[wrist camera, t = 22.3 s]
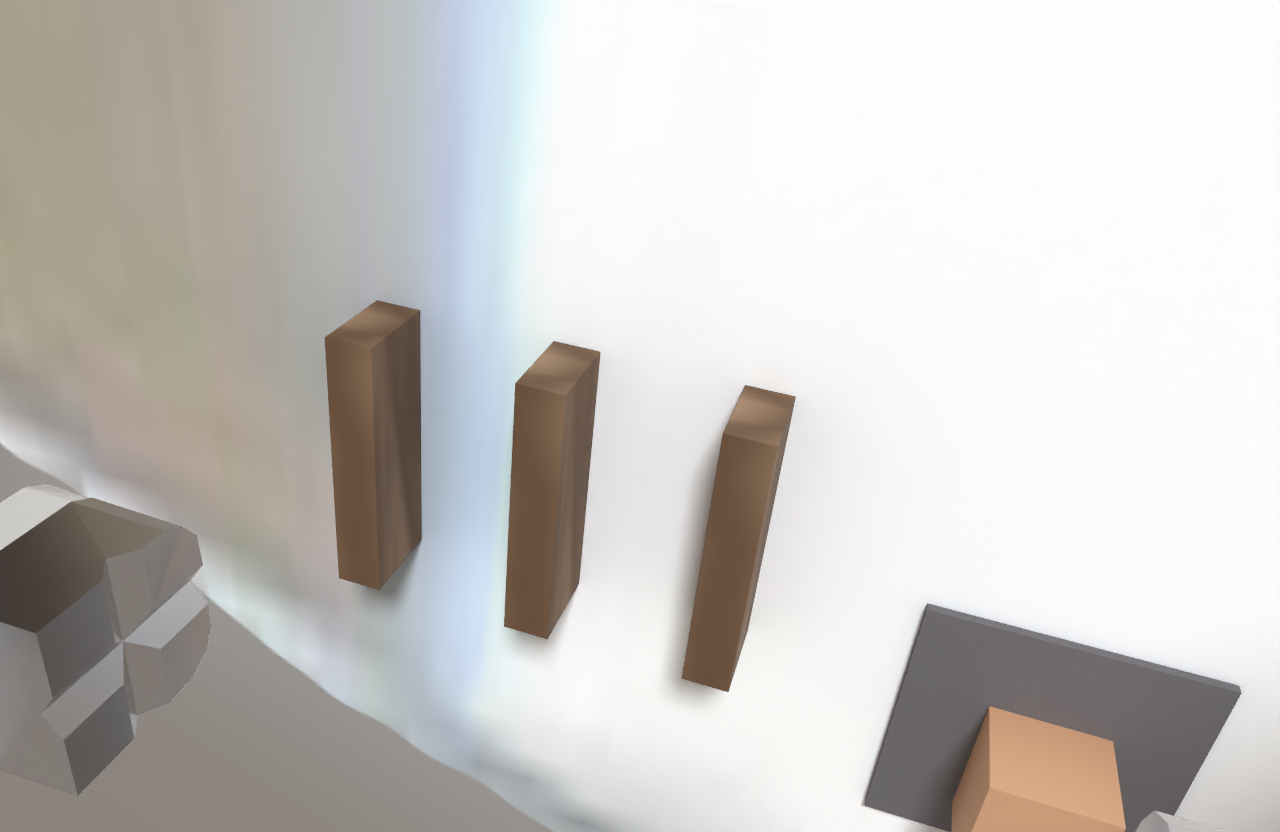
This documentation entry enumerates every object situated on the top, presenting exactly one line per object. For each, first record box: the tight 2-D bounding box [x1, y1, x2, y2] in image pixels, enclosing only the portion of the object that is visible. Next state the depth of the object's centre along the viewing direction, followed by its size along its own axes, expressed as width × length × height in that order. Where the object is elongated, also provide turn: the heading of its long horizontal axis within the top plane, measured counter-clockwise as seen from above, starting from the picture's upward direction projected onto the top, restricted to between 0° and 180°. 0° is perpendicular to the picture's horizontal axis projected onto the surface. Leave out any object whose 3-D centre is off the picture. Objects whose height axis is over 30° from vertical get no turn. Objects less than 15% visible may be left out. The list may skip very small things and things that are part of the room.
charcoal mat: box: [865, 604, 1241, 832], centre depth 43 cm, size 12×12×1 cm
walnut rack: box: [325, 301, 795, 692], centre depth 42 cm, size 18×12×4 cm, turn 84°
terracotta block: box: [951, 706, 1126, 832], centre depth 42 cm, size 5×6×4 cm
